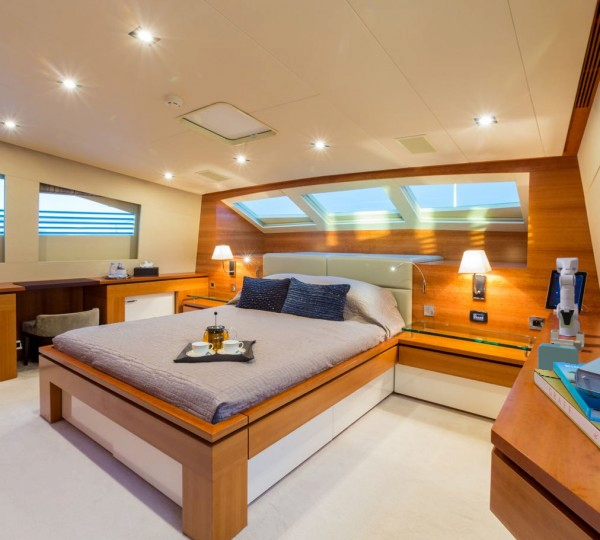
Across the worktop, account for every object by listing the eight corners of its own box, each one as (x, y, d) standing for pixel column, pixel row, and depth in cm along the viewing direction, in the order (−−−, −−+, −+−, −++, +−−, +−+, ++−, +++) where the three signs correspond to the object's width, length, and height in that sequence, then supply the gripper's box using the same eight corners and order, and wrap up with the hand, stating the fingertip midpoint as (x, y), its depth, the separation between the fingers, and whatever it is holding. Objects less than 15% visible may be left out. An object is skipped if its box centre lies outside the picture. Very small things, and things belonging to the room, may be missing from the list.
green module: (560, 326, 187) (560, 313, 186) (574, 327, 183) (574, 314, 183) (560, 327, 183) (560, 314, 183) (573, 328, 180) (573, 315, 179)
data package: (578, 379, 131) (578, 346, 131) (577, 382, 128) (577, 349, 127) (539, 372, 139) (539, 342, 139) (537, 375, 136) (537, 344, 135)
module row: (552, 339, 191) (552, 328, 191) (584, 343, 183) (584, 331, 183) (550, 343, 184) (550, 331, 184) (583, 347, 175) (583, 334, 175)
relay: (573, 348, 173) (573, 340, 172) (581, 349, 171) (581, 340, 171) (573, 351, 169) (573, 342, 169) (581, 352, 167) (581, 342, 167)
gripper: (558, 296, 191) (558, 321, 191) (556, 299, 180) (556, 325, 180) (575, 297, 186) (575, 322, 187) (574, 299, 175) (574, 327, 176)
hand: (567, 324), depth 183 cm, fingers closed on green module, 4 cm apart
